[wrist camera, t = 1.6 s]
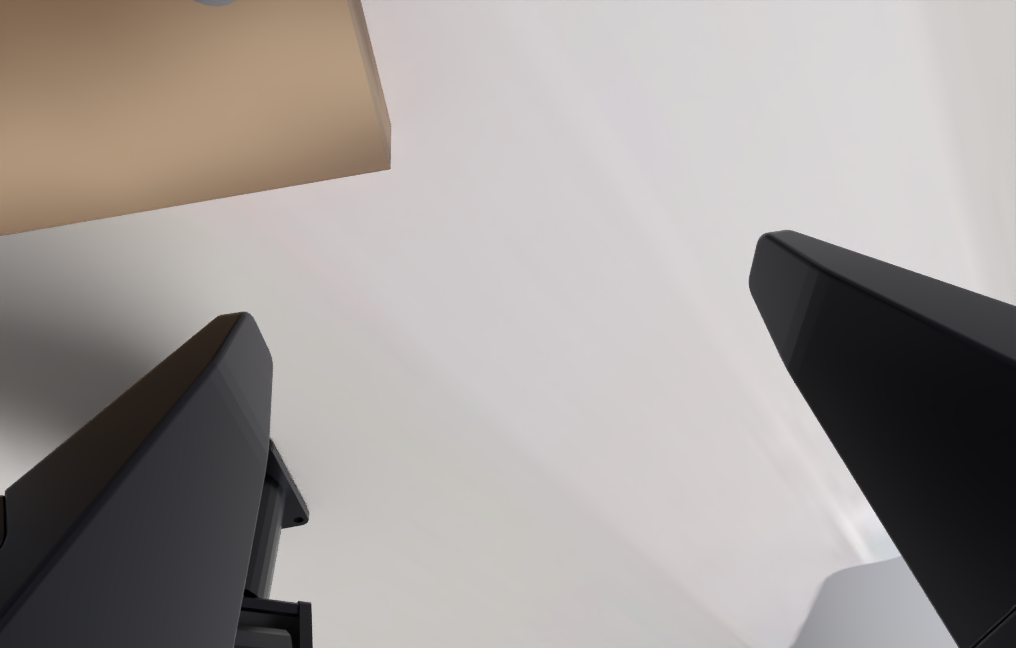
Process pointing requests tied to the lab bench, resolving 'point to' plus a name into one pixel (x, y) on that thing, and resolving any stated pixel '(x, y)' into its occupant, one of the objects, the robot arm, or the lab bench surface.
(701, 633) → the lab bench surface
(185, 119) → the door panel
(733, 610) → the lab bench surface
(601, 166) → the lab bench surface
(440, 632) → the lab bench surface
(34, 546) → the robot arm
